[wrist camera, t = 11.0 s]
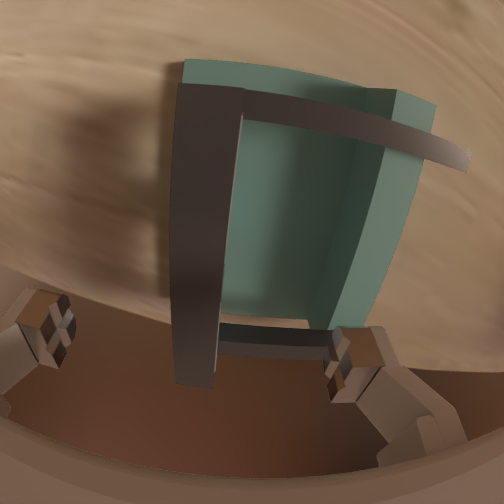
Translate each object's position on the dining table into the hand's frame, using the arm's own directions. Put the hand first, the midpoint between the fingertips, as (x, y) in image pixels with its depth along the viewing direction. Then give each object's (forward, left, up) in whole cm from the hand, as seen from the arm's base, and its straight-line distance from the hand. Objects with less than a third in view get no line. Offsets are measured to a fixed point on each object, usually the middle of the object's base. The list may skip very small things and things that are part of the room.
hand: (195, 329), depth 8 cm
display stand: (0, +4, -12) cm, 13 cm away
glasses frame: (+1, +5, -7) cm, 9 cm away
